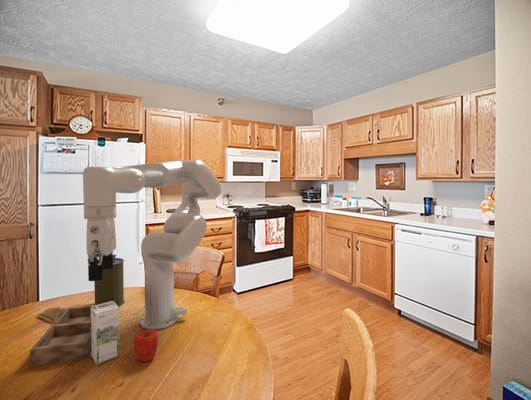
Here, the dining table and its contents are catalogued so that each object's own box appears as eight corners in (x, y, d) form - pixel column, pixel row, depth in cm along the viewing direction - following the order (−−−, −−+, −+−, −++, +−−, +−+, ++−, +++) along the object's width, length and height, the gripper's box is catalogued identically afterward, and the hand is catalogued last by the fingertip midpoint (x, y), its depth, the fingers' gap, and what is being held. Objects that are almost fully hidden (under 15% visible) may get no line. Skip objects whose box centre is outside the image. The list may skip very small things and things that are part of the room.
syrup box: (113, 347, 80) (112, 299, 79) (119, 356, 76) (119, 306, 75) (90, 355, 76) (90, 305, 75) (96, 366, 72) (95, 312, 71)
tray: (109, 315, 99) (109, 303, 99) (87, 358, 75) (87, 342, 75) (68, 320, 95) (67, 307, 95) (30, 366, 71) (30, 350, 71)
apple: (140, 351, 79) (140, 326, 78) (161, 351, 79) (161, 326, 78) (129, 365, 73) (129, 338, 72) (152, 366, 72) (152, 339, 72)
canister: (130, 300, 112) (129, 252, 111) (110, 311, 102) (109, 259, 101) (108, 297, 115) (107, 250, 113) (86, 308, 104) (85, 257, 103)
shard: (54, 325, 93) (54, 320, 93) (27, 328, 91) (27, 322, 91) (67, 310, 103) (67, 306, 103) (43, 313, 101) (43, 308, 101)
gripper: (106, 216, 67) (108, 284, 68) (122, 209, 83) (123, 264, 84) (71, 216, 64) (73, 287, 66) (95, 209, 81) (96, 265, 82)
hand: (101, 274), depth 75 cm, fingers open, 9 cm apart
